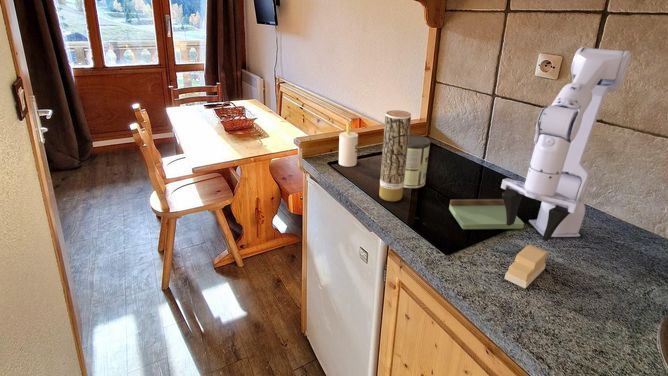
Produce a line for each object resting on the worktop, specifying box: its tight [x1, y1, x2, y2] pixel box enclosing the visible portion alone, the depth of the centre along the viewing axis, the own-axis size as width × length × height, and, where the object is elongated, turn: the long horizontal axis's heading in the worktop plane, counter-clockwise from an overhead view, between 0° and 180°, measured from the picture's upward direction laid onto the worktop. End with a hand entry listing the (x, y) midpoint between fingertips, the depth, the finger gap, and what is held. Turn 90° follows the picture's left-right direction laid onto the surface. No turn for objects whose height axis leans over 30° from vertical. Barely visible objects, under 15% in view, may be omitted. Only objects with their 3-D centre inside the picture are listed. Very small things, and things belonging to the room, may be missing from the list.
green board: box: [448, 198, 525, 230], centre depth 108 cm, size 16×11×3 cm
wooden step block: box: [504, 243, 548, 289], centre depth 86 cm, size 10×4×5 cm, turn 134°
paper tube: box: [378, 109, 412, 203], centre depth 113 cm, size 7×7×25 cm
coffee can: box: [403, 134, 432, 189], centre depth 126 cm, size 10×10×14 cm
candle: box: [338, 121, 359, 168], centre depth 139 cm, size 6×6×15 cm
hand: (527, 231), depth 83 cm, fingers open, 7 cm apart
